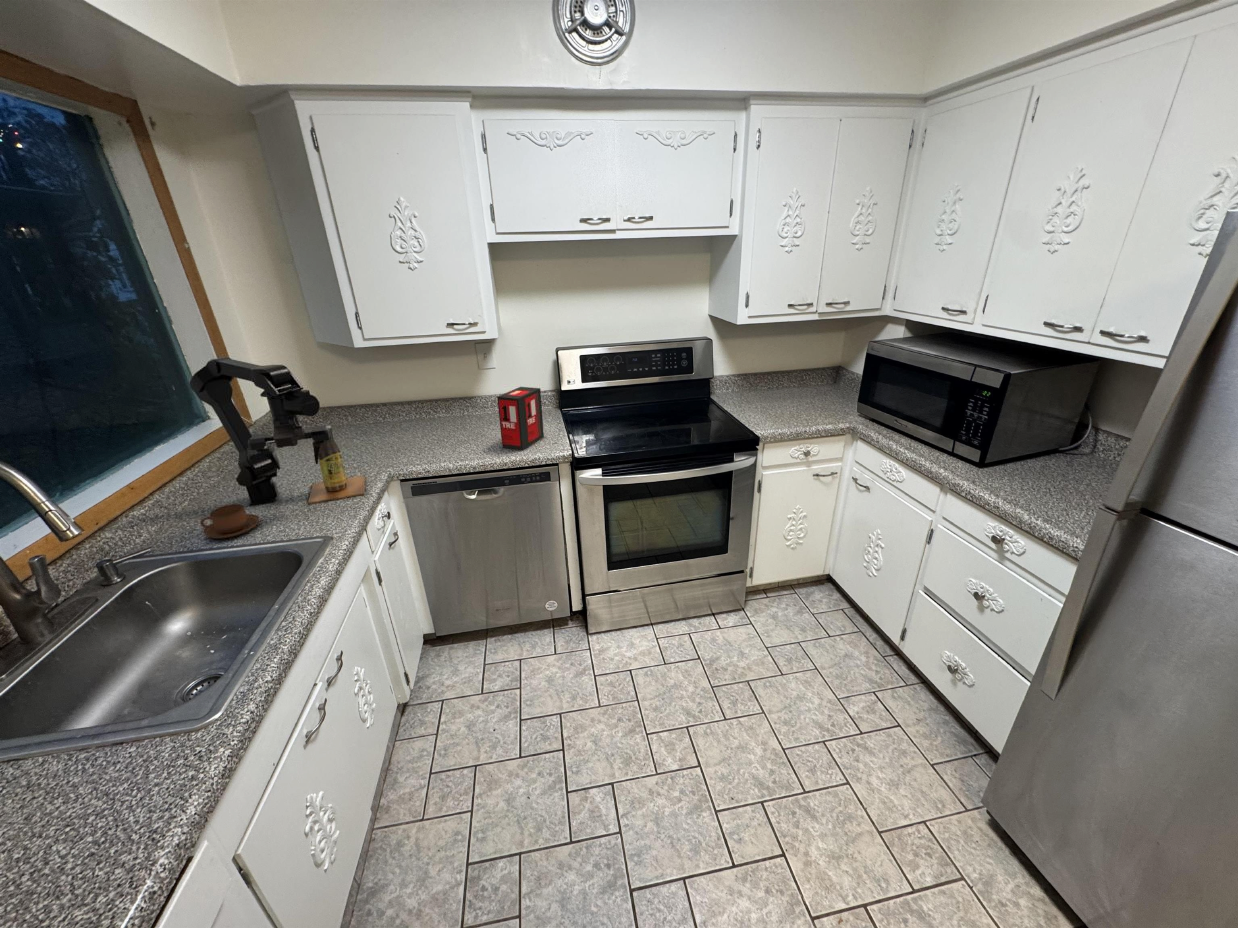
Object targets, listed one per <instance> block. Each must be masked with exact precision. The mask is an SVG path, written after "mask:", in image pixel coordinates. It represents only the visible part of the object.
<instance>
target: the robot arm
mask: <svg viewBox="0 0 1238 928" xmlns="http://www.w3.org/2000/svg"><path fill="white" fill-rule="evenodd" d="M234 378H236V379H239V380H243V381H248V382H252V383H253V384H254V386H255V387H256V388H258V389H261V390H263V391H262V392H260V395H259V396H260V397H262V398H266V400H267V404H268V408H269V411H270V414H271V418H272V424H273V435H269V434H268V432H265V433H257V434H252V433H251V431H250V429H249V428H248V426H247V424H246V423H245V421H244V419H243V417H242V415H241V414H240V411H239V410H238V408H237V407H236V405H235V403H234V401H233V392H234V391H233V390H234V389H233V386H232V384H231V383H232V381H233V380H234ZM189 388H190V389H191V390H192V391H193V392H194V394H195V396H196V397H197V398H198V399H199V400H200V401H201V402H203V403H205V404H206V405H208V406H210V407H211V409H212V410H213V411H214V413H215V415H216V416H217V418H218V420H219V421H220V423H221V425H222V427H223V428H224V430H225V431H226V433H227V436H228V437H229V438H230V440H231V442H232V444H233V446H234V447H235V449H236V450H237V452H238V459H237V465H238V467H239V470H240V471H239V473H238V475H236V476H237V477H236V478H235V481H236V482H237V484H238V485H239V486H240V487H245V489H246V493H247V495H248V499H249V503H248V505H249V506H256V505H261V504H267V503H273V502H276V500H277V498H278V497H279V494H280V493H279V489H278V486H277V483H276V481H274V480H273V478H276V477H278V470H279V471H280V470H281V464H280V461H279V458H278V455H277V452H276V450H275V446H276V448H278V449H283V448H285V447H296V446H297V445H298V444H299V441H301V440H307V439H308V440H309V439H311V440H312V443H311V444H312V447H313V457H314V462H315V464H316V465H318V464H319V450H320V445H321V444H323V443H325V441H327V440H329V439H330V430H329V428H328V427H327V426H328V425H322V426H314V427H312V428H311V430H310V431H305V430H304V429H305V428H303V426H302V425H301V424H300V421H299V416H303V417H314V416H316V415H317V414H318V413H319V411H320V407H321V405H320V401H319V399H318V397H316V396H315V395H313V394H311V392H310V390H309V389H304V387H303V385H302V383H301V382H300V380H298V379H297V378H296V377H295V375H294V374H293V373H292V371H290V370H289V368H288V367H287V366H286V365H284V364H267V365H266V364H265V365H259V364H255V363H250V362H247V361H241V360H237V359H233V358H231V357H227V356H224V357H218V358H212V359H210V360H208V361H207V363H206V364H205V365H204V366H203V367H202V368H200V369H199V370H197V371H196V372H195V373H194V374H193V375H192V376H191V379H190V381H189ZM274 444H275V446H274Z"/></svg>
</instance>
